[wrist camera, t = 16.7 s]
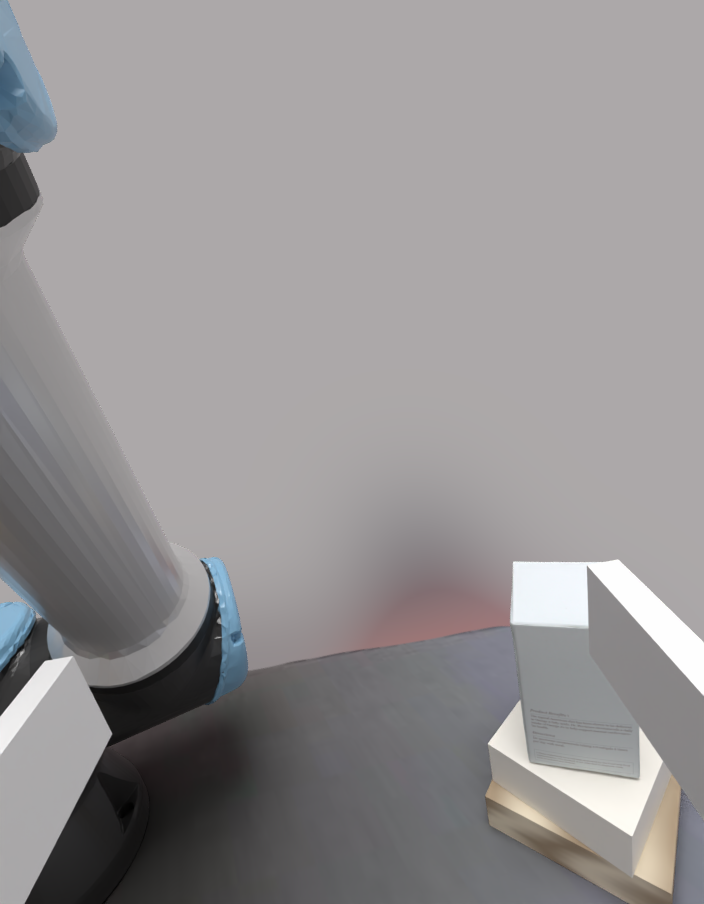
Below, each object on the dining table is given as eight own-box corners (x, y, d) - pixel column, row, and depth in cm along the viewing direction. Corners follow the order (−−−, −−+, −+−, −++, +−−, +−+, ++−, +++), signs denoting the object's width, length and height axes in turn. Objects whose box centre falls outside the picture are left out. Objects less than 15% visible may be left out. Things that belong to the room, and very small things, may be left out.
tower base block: (490, 830, 37) (485, 796, 36) (534, 714, 46) (532, 683, 45) (670, 932, 30) (671, 894, 29) (683, 771, 38) (684, 736, 37)
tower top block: (492, 780, 37) (487, 743, 36) (549, 696, 43) (547, 662, 42) (632, 878, 30) (632, 836, 28) (677, 760, 36) (678, 721, 34)
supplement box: (621, 693, 37) (618, 559, 34) (641, 783, 31) (641, 631, 27) (524, 682, 40) (511, 558, 36) (524, 763, 34) (509, 622, 30)
